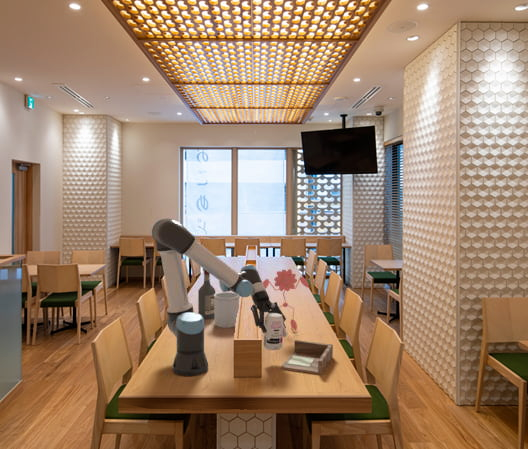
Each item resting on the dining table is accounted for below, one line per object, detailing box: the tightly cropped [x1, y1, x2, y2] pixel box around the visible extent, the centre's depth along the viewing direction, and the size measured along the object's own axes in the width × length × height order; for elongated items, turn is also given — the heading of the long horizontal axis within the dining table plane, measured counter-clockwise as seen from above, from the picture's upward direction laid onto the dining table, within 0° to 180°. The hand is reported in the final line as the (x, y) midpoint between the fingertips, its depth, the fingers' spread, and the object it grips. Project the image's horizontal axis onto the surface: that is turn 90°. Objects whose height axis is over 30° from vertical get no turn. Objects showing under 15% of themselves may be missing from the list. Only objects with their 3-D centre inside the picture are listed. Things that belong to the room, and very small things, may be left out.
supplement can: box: [263, 312, 284, 351], centre depth 203 cm, size 8×8×15 cm
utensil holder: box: [213, 291, 241, 329], centre depth 262 cm, size 15×15×18 cm
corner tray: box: [280, 339, 334, 376], centre depth 203 cm, size 22×18×6 cm
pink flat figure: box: [262, 268, 310, 332], centre depth 246 cm, size 15×26×35 cm, turn 94°
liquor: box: [197, 269, 216, 320], centre depth 277 cm, size 9×9×30 cm
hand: (277, 337), depth 201 cm, fingers closed on supplement can, 8 cm apart
